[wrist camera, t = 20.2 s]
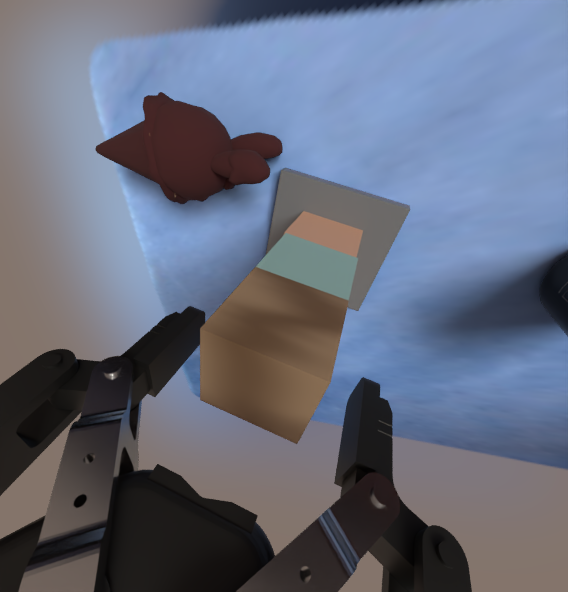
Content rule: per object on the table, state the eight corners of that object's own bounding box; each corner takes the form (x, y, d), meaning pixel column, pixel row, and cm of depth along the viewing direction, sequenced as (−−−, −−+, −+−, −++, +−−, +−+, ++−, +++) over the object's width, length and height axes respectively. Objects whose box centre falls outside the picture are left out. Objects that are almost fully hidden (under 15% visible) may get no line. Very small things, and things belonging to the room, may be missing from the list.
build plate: (409, 205, 19) (410, 209, 19) (359, 305, 26) (357, 311, 25) (285, 167, 21) (281, 169, 20) (265, 270, 27) (262, 275, 26)
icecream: (94, 214, 22) (268, 232, 19) (23, 107, 16) (255, 111, 13) (142, 176, 26) (289, 186, 23) (99, 81, 20) (286, 80, 18)
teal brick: (358, 258, 17) (348, 301, 13) (332, 314, 20) (318, 363, 16) (285, 232, 17) (255, 266, 13) (272, 290, 20) (244, 332, 16)
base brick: (363, 230, 21) (356, 257, 17) (341, 281, 24) (332, 313, 20) (303, 211, 21) (284, 232, 17) (290, 262, 24) (271, 290, 20)
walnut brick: (348, 300, 13) (330, 382, 9) (320, 363, 16) (297, 444, 12) (255, 266, 13) (200, 328, 10) (245, 332, 16) (200, 400, 13)
